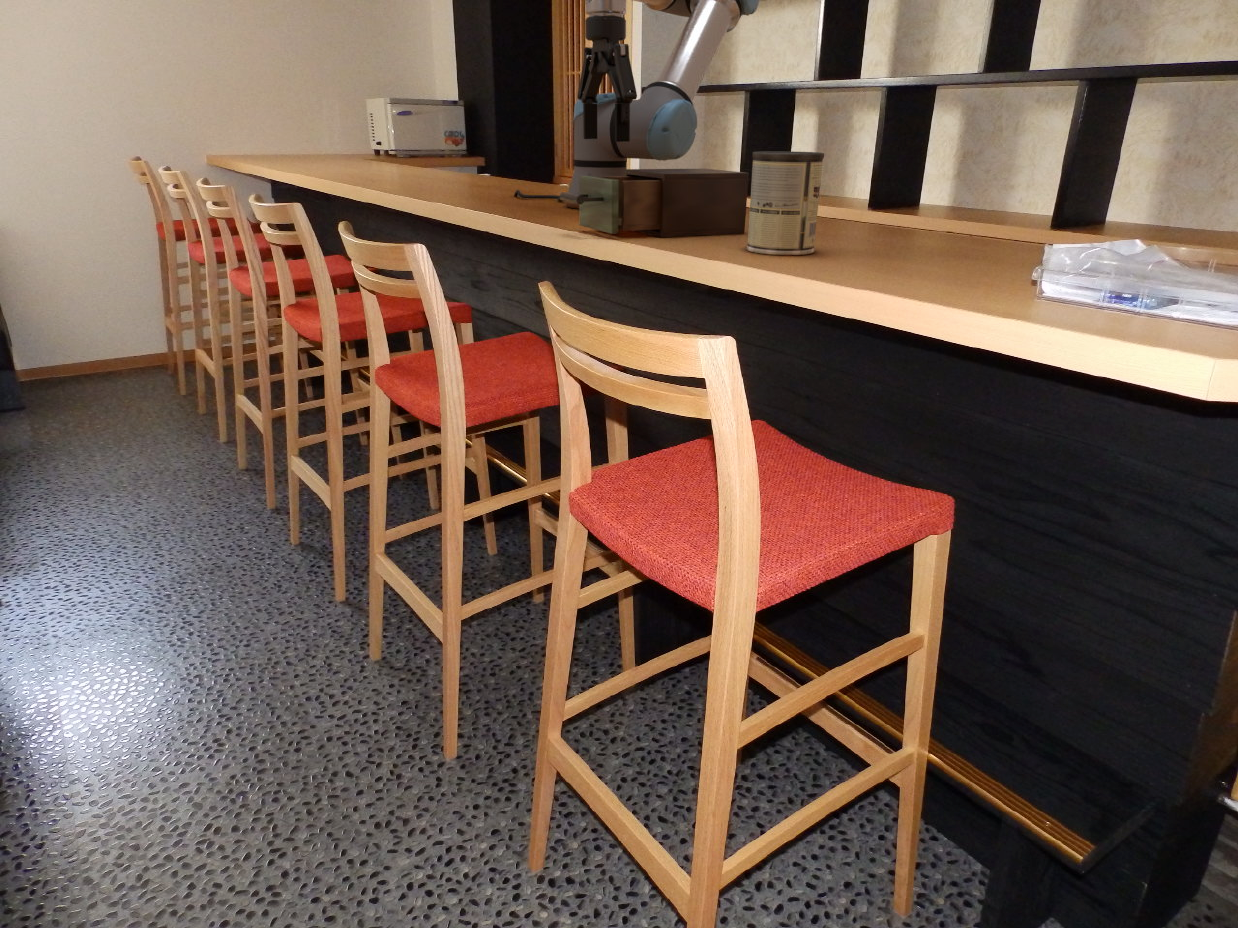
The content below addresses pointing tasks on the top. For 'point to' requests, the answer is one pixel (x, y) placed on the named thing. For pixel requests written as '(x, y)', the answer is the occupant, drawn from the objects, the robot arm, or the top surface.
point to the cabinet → (699, 201)
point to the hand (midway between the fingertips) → (605, 140)
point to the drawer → (618, 203)
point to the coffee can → (784, 202)
